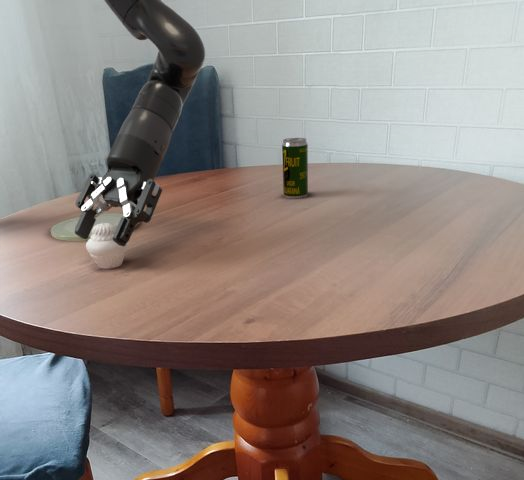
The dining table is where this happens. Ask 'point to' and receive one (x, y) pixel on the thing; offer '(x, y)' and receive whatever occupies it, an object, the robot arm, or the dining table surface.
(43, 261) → the dining table surface
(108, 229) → the muffin
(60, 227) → the plate
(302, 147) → the green drink can
